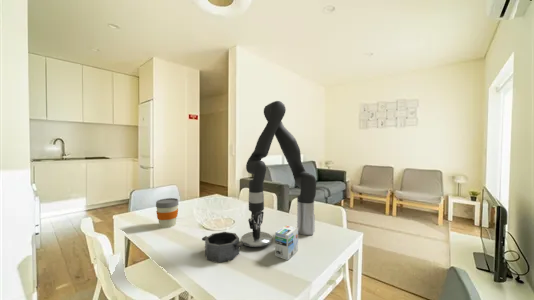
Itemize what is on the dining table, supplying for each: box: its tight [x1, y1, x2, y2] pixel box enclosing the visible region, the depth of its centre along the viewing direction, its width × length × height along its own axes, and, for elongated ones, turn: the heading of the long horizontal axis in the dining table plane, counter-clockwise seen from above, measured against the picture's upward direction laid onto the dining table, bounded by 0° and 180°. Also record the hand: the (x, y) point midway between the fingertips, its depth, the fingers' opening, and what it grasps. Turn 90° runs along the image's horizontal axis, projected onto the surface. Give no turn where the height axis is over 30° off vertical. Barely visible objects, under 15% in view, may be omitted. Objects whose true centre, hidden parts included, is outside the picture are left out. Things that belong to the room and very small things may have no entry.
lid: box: [240, 225, 273, 248], centre depth 110 cm, size 15×15×8 cm
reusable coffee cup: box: [155, 197, 179, 229], centre depth 135 cm, size 13×13×15 cm
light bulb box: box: [274, 225, 299, 261], centre depth 101 cm, size 11×7×11 cm, turn 148°
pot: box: [201, 231, 244, 264], centre depth 100 cm, size 20×14×7 cm
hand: (256, 234), depth 110 cm, fingers closed on lid, 3 cm apart
